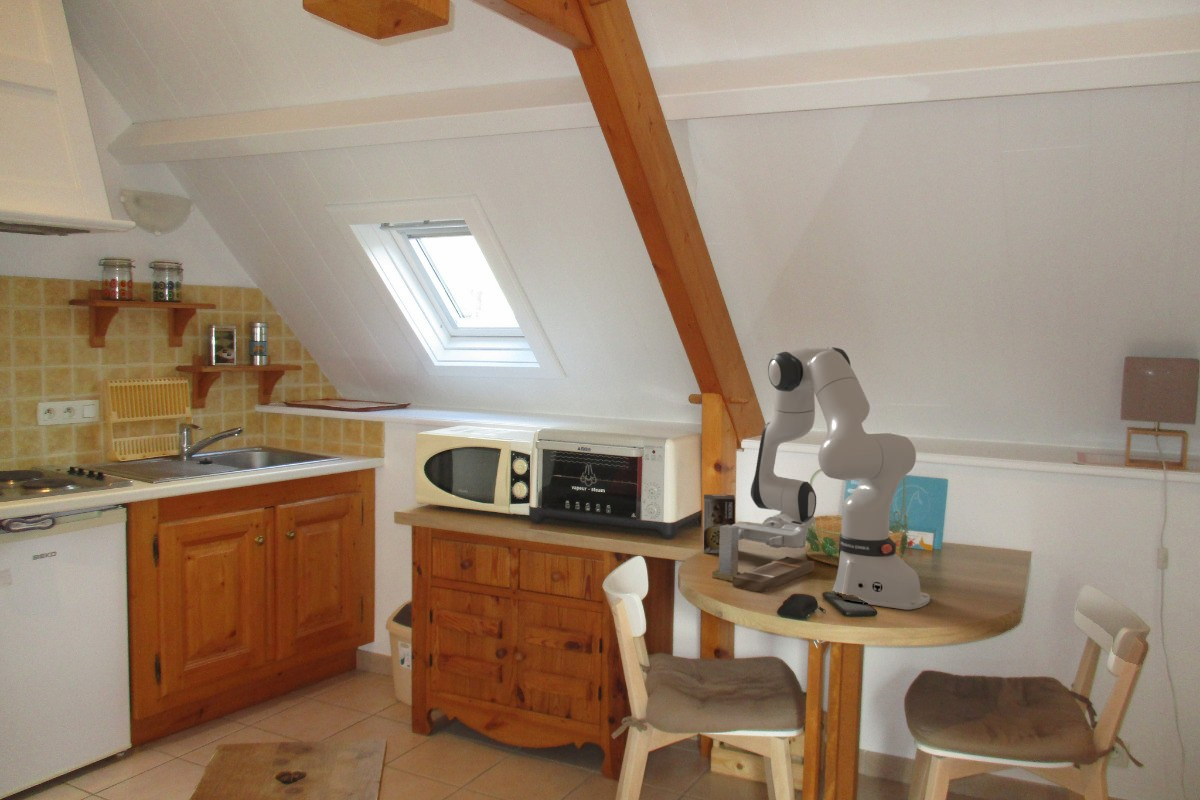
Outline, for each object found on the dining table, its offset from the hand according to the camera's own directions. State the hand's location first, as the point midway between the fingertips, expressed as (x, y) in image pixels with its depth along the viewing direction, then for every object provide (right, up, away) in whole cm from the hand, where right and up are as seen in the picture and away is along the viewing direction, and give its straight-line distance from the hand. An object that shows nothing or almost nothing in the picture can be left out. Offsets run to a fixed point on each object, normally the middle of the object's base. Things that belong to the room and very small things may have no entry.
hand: (752, 539), depth 248 cm
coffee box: (-6, -7, +21) cm, 23 cm away
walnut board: (+4, -9, -8) cm, 13 cm away
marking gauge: (-8, -9, -9) cm, 15 cm away
